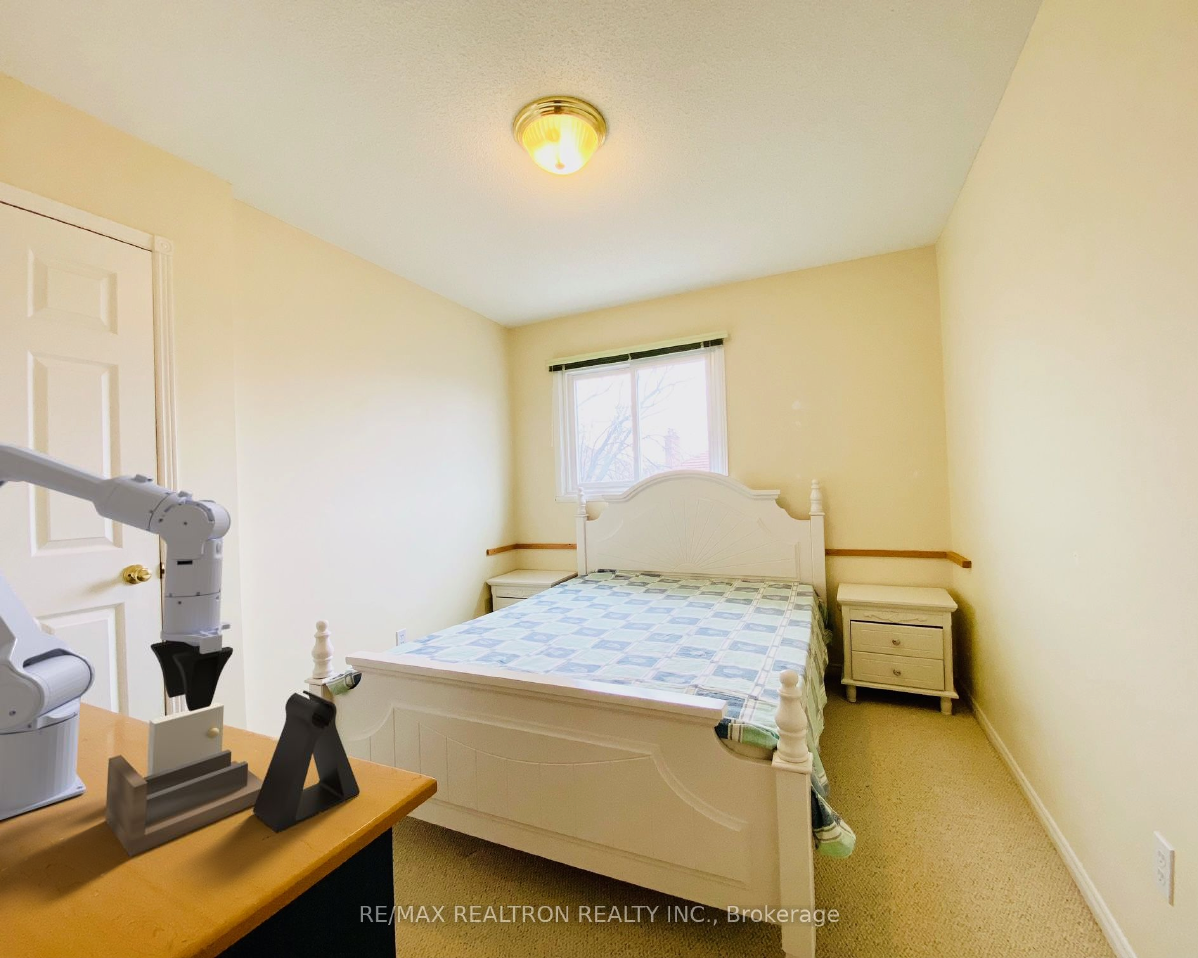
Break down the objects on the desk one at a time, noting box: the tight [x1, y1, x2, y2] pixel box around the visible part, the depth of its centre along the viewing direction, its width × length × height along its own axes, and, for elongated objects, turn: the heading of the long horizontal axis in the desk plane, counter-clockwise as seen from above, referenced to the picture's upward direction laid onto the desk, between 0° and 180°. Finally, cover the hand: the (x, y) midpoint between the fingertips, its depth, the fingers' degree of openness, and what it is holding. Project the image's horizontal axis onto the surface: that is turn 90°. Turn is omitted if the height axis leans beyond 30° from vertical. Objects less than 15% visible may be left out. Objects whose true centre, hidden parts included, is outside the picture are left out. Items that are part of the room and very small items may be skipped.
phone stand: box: [252, 690, 361, 834], centre depth 58 cm, size 9×6×12 cm, turn 144°
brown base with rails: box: [105, 749, 264, 858], centre depth 56 cm, size 10×12×6 cm
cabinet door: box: [146, 701, 225, 777], centre depth 63 cm, size 3×7×8 cm, turn 145°
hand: (188, 701), depth 64 cm, fingers open, 7 cm apart
